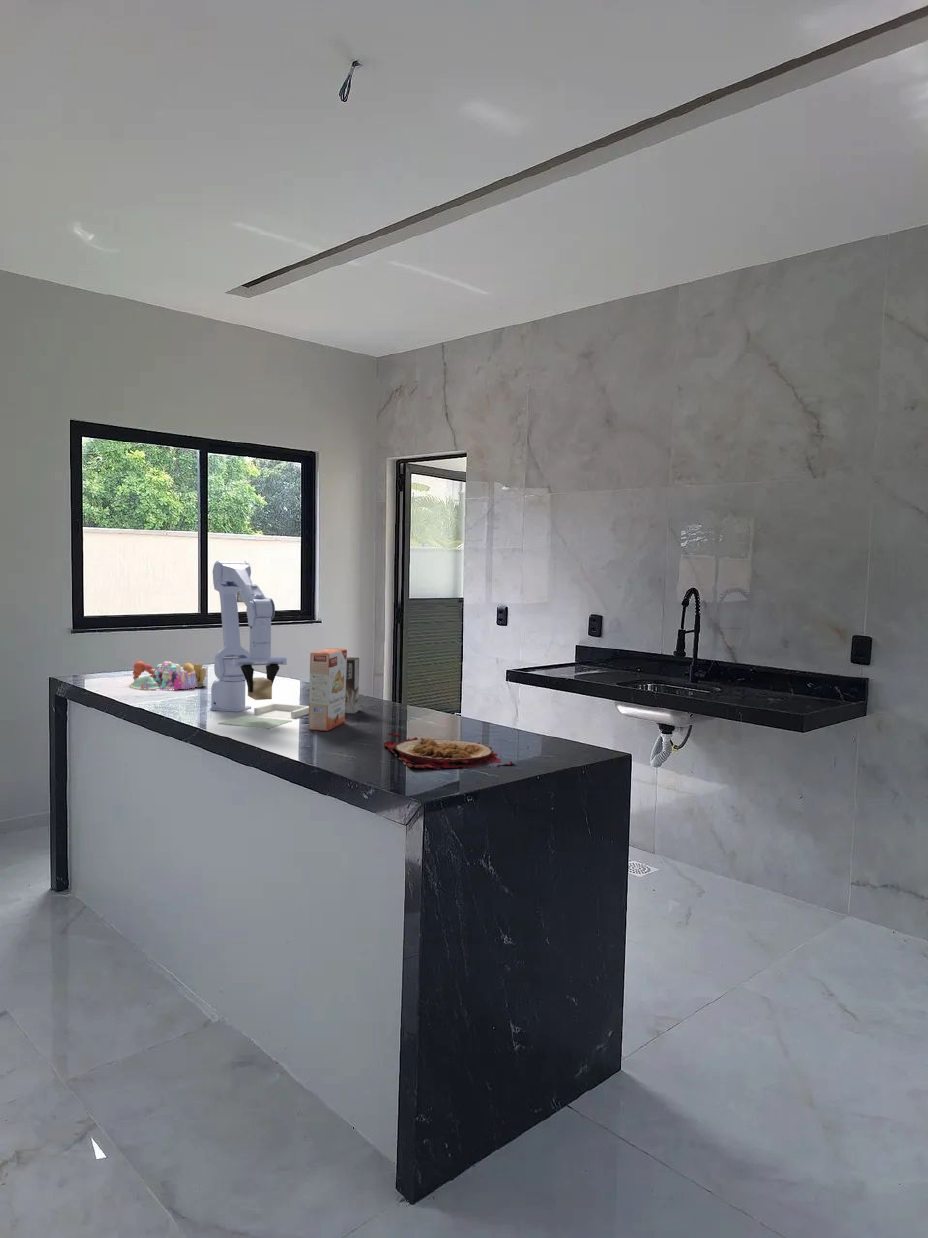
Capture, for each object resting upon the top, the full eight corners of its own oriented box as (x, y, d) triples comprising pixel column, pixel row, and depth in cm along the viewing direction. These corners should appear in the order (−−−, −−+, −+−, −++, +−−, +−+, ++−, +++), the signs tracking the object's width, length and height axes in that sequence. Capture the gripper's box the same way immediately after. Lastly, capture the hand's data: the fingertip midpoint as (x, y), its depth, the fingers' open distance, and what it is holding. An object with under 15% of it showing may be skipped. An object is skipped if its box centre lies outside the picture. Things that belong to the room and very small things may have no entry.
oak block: (255, 700, 238) (255, 681, 238) (247, 695, 245) (247, 677, 245) (271, 699, 240) (271, 681, 240) (263, 694, 247) (263, 677, 247)
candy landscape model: (190, 680, 320) (190, 655, 320) (217, 688, 302) (217, 662, 302) (120, 685, 304) (120, 658, 304) (145, 694, 286) (145, 666, 286)
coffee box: (359, 710, 265) (360, 657, 264) (354, 714, 259) (355, 659, 258) (329, 709, 266) (330, 656, 265) (324, 712, 260) (325, 658, 259)
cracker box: (328, 732, 231) (330, 653, 230) (307, 730, 232) (308, 652, 231) (346, 722, 245) (347, 648, 244) (326, 721, 246) (327, 647, 245)
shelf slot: (253, 715, 252) (253, 708, 252) (272, 709, 262) (272, 703, 262) (293, 719, 248) (293, 712, 248) (312, 713, 258) (312, 706, 258)
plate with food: (411, 775, 191) (412, 759, 191) (381, 746, 216) (382, 732, 216) (515, 770, 199) (516, 755, 199) (475, 743, 224) (476, 730, 224)
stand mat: (217, 724, 238) (217, 722, 238) (242, 716, 249) (242, 715, 249) (269, 729, 233) (269, 728, 233) (292, 721, 244) (292, 720, 244)
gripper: (237, 644, 235) (237, 694, 235) (290, 643, 242) (289, 692, 242) (231, 642, 241) (230, 691, 242) (282, 640, 248) (281, 688, 249)
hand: (259, 691), depth 242 cm, fingers closed on oak block, 4 cm apart
